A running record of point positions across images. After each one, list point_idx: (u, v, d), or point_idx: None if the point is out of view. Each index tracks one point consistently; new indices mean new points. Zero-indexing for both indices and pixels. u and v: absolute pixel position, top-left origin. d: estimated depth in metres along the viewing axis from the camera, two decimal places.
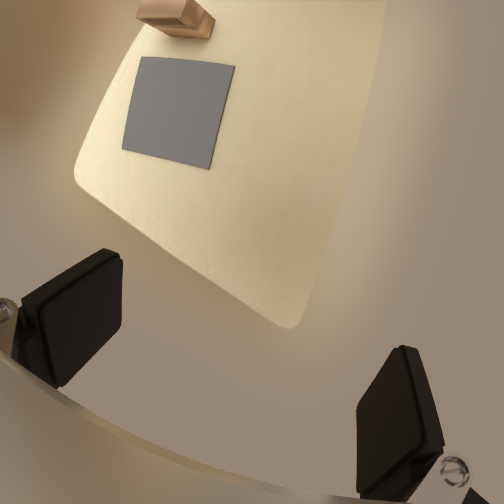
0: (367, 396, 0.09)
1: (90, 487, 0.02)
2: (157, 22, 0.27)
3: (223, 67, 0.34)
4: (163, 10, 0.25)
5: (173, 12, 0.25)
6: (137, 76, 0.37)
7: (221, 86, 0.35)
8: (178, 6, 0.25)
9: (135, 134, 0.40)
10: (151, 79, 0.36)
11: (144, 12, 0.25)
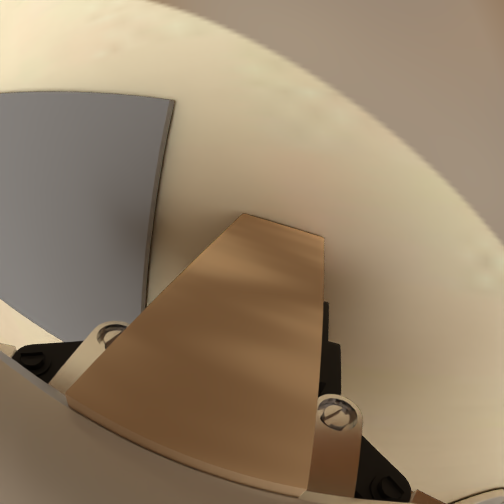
0: None
1: (90, 487, 0.02)
2: None
3: None
4: None
5: None
6: (104, 98, 0.10)
7: None
8: None
9: None
10: (89, 156, 0.11)
11: None
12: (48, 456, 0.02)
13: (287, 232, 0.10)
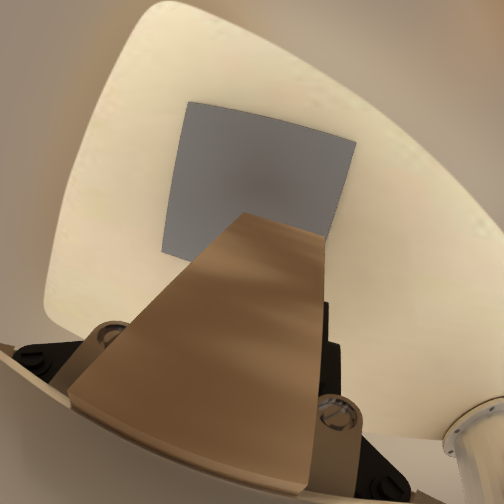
0: None
1: (90, 487, 0.02)
2: None
3: None
4: None
5: None
6: (317, 133, 0.22)
7: None
8: None
9: (208, 130, 0.24)
10: (305, 162, 0.23)
11: None
12: (48, 456, 0.02)
13: (287, 231, 0.10)
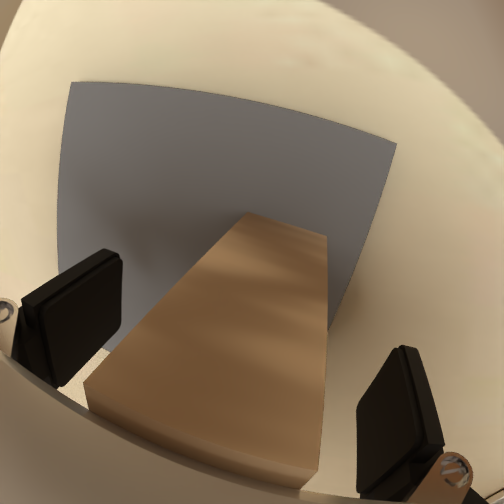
0: (367, 396, 0.09)
1: (90, 487, 0.02)
2: None
3: None
4: None
5: None
6: (310, 121, 0.10)
7: None
8: None
9: (99, 129, 0.12)
10: (284, 186, 0.11)
11: None
12: (48, 456, 0.02)
13: (291, 230, 0.11)
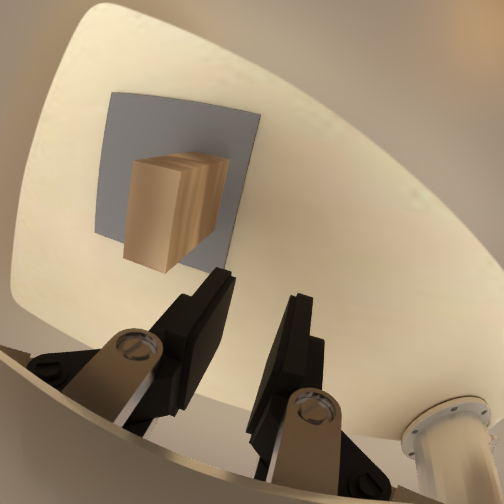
0: (273, 345, 0.11)
1: (90, 487, 0.02)
2: None
3: (218, 263, 0.27)
4: (138, 224, 0.17)
5: (132, 244, 0.18)
6: (221, 109, 0.22)
7: (191, 257, 0.27)
8: (143, 254, 0.18)
9: (127, 116, 0.24)
10: (210, 138, 0.23)
11: (141, 181, 0.16)
12: (48, 456, 0.02)
13: (212, 156, 0.23)
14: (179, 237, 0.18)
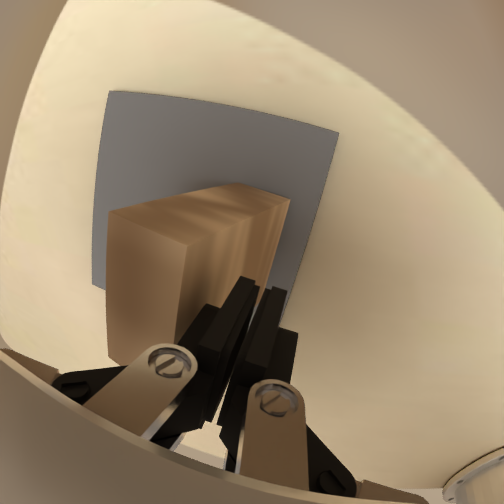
0: None
1: (90, 487, 0.02)
2: None
3: None
4: (123, 319, 0.10)
5: (118, 345, 0.10)
6: (279, 120, 0.15)
7: None
8: None
9: (132, 126, 0.17)
10: (262, 164, 0.16)
11: (121, 250, 0.09)
12: (48, 456, 0.02)
13: (262, 193, 0.15)
14: None
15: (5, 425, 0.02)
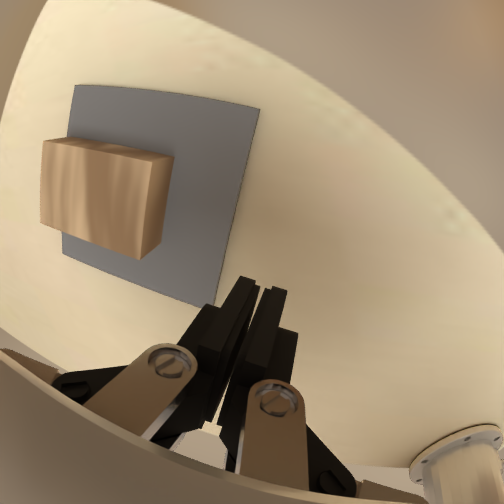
0: None
1: (90, 487, 0.02)
2: None
3: (207, 295, 0.22)
4: None
5: None
6: (208, 102, 0.17)
7: (174, 287, 0.22)
8: None
9: (92, 114, 0.18)
10: (194, 140, 0.18)
11: None
12: (48, 456, 0.02)
13: (152, 157, 0.17)
14: (52, 203, 0.18)
15: (5, 425, 0.02)
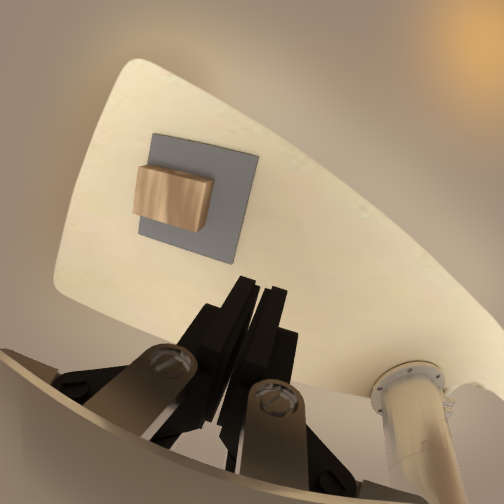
0: None
1: (90, 487, 0.02)
2: None
3: (230, 255, 0.40)
4: None
5: None
6: (232, 152, 0.35)
7: (211, 251, 0.40)
8: None
9: (165, 152, 0.37)
10: (225, 172, 0.36)
11: None
12: (48, 456, 0.02)
13: (204, 180, 0.35)
14: (143, 202, 0.37)
15: (5, 425, 0.02)
